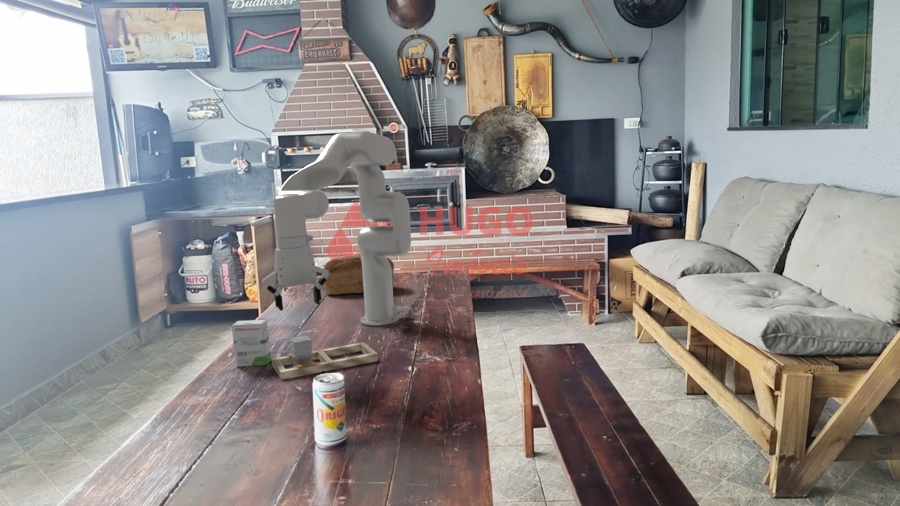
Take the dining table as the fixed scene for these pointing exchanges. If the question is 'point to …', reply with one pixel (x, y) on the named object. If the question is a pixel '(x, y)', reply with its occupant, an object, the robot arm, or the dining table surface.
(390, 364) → the dining table surface
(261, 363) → the ink box
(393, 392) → the dining table surface
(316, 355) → the wooden frame
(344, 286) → the bread
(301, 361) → the grey rectangular block
